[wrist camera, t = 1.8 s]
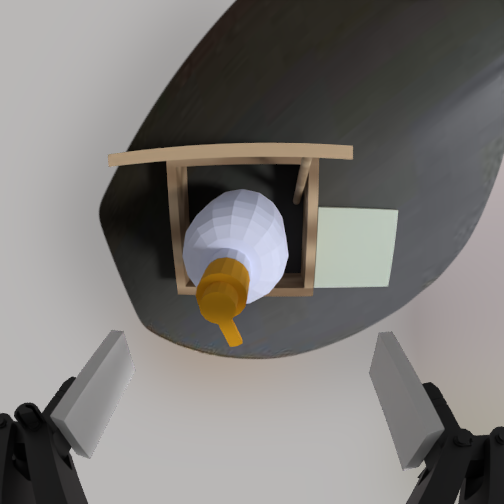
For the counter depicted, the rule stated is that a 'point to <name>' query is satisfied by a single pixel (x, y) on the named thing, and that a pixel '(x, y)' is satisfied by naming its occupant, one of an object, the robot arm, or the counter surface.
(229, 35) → the counter surface
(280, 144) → the lid
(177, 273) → the frame
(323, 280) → the trivet
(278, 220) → the soap bottle
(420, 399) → the robot arm
